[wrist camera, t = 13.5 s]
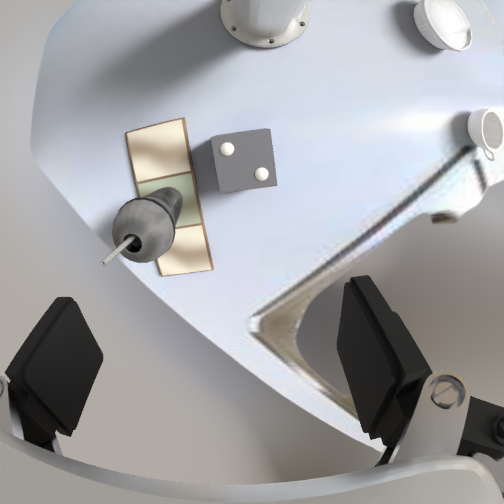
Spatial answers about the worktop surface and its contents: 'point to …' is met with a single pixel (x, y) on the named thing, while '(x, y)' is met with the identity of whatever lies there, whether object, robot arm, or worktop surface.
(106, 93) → the worktop surface
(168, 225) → the beverage cup
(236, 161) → the die
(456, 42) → the ramekin
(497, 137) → the teacup
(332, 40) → the worktop surface
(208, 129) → the worktop surface
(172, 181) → the game track
